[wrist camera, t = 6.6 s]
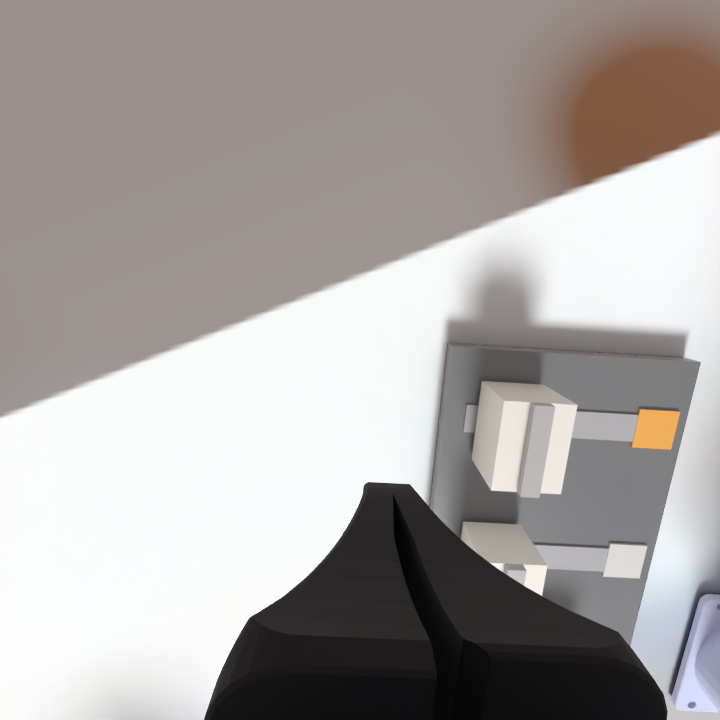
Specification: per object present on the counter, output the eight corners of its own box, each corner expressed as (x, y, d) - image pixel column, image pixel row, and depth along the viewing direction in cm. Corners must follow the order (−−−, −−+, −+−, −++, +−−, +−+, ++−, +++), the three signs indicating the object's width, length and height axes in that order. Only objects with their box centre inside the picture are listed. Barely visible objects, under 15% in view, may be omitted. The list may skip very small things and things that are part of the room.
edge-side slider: (544, 384, 19) (582, 408, 16) (531, 461, 20) (565, 499, 17) (481, 380, 19) (507, 403, 16) (471, 458, 20) (494, 495, 17)
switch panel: (684, 357, 21) (702, 362, 19) (601, 704, 25) (612, 724, 24) (447, 343, 20) (453, 347, 19) (408, 696, 25) (410, 715, 24)
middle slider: (520, 524, 21) (551, 572, 18) (509, 590, 22) (537, 648, 19) (463, 521, 21) (483, 568, 18) (454, 588, 22) (471, 645, 19)
